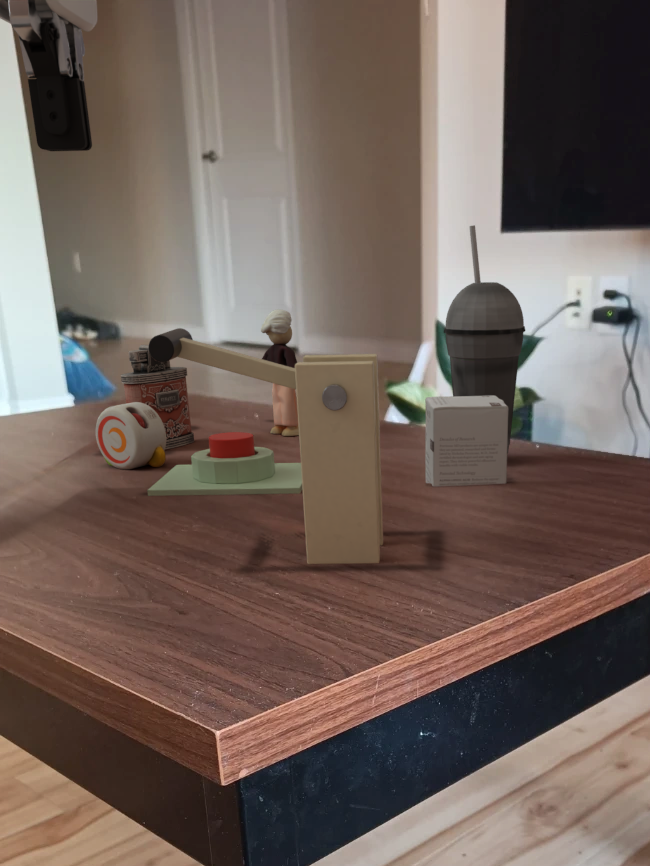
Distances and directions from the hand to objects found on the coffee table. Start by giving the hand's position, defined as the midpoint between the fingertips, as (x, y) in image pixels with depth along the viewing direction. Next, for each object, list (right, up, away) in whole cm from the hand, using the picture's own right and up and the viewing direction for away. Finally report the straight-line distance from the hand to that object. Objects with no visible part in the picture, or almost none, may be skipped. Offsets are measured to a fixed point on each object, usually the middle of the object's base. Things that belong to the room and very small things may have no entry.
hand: (65, 149), depth 69 cm
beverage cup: (+30, -14, +28) cm, 43 cm away
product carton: (+28, -20, +16) cm, 38 cm away
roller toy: (-3, -14, +29) cm, 32 cm away
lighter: (-3, -10, +39) cm, 40 cm away
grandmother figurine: (+10, -7, +45) cm, 46 cm away
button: (+9, -17, +15) cm, 24 cm away
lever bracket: (+19, -29, -4) cm, 35 cm away
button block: (+9, -20, +17) cm, 27 cm away
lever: (+14, -19, -8) cm, 25 cm away
